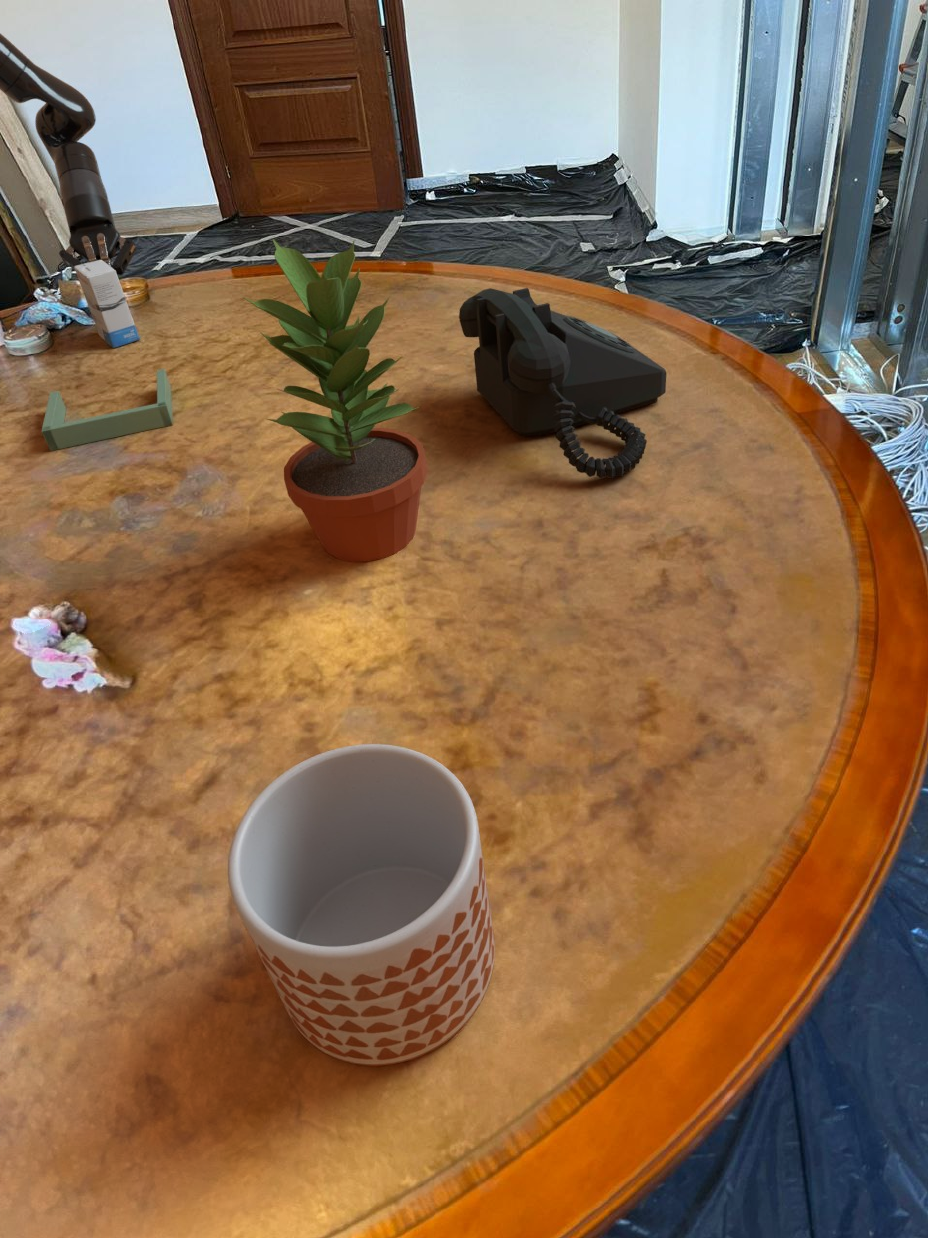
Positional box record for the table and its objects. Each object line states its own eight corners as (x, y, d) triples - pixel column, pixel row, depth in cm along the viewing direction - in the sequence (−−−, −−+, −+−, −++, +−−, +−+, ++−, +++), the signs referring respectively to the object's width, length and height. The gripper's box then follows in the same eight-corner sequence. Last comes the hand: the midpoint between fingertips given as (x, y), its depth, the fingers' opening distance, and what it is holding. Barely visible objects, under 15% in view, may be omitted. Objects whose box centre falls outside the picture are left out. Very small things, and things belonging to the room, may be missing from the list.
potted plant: (415, 582, 84) (363, 272, 65) (279, 567, 89) (192, 271, 70) (460, 501, 95) (426, 214, 76) (336, 491, 99) (274, 217, 80)
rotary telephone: (732, 449, 98) (747, 320, 88) (560, 498, 93) (557, 368, 84) (599, 350, 123) (599, 240, 113) (458, 384, 118) (446, 274, 109)
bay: (58, 411, 125) (49, 391, 123) (171, 387, 127) (164, 368, 126) (50, 451, 115) (41, 431, 113) (173, 424, 118) (166, 404, 116)
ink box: (141, 340, 144) (116, 268, 136) (112, 349, 142) (85, 276, 135) (126, 327, 150) (101, 257, 142) (98, 335, 148) (72, 265, 140)
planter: (293, 874, 60) (245, 754, 52) (487, 854, 59) (470, 730, 51) (269, 1081, 49) (204, 970, 41) (505, 1057, 49) (487, 941, 41)
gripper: (130, 211, 153) (153, 301, 152) (55, 224, 151) (77, 315, 150) (119, 185, 146) (143, 279, 145) (39, 199, 144) (63, 294, 143)
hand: (109, 297), depth 147 cm, fingers closed
